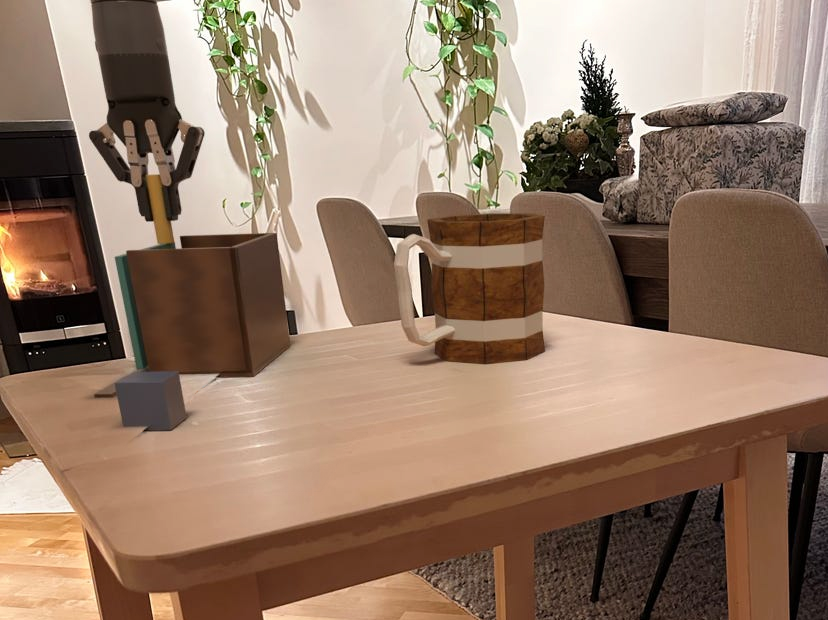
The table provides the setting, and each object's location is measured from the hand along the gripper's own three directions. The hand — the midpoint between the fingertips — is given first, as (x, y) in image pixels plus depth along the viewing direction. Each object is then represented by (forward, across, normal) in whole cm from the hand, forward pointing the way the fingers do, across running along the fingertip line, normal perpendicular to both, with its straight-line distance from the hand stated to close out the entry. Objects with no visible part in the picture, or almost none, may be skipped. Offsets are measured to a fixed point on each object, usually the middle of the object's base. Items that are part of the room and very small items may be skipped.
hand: (161, 220), depth 114 cm
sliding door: (+15, 0, +7) cm, 16 cm away
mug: (+16, -37, +6) cm, 41 cm away
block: (+16, -9, +36) cm, 40 cm away
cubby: (+16, -6, +12) cm, 20 cm away
